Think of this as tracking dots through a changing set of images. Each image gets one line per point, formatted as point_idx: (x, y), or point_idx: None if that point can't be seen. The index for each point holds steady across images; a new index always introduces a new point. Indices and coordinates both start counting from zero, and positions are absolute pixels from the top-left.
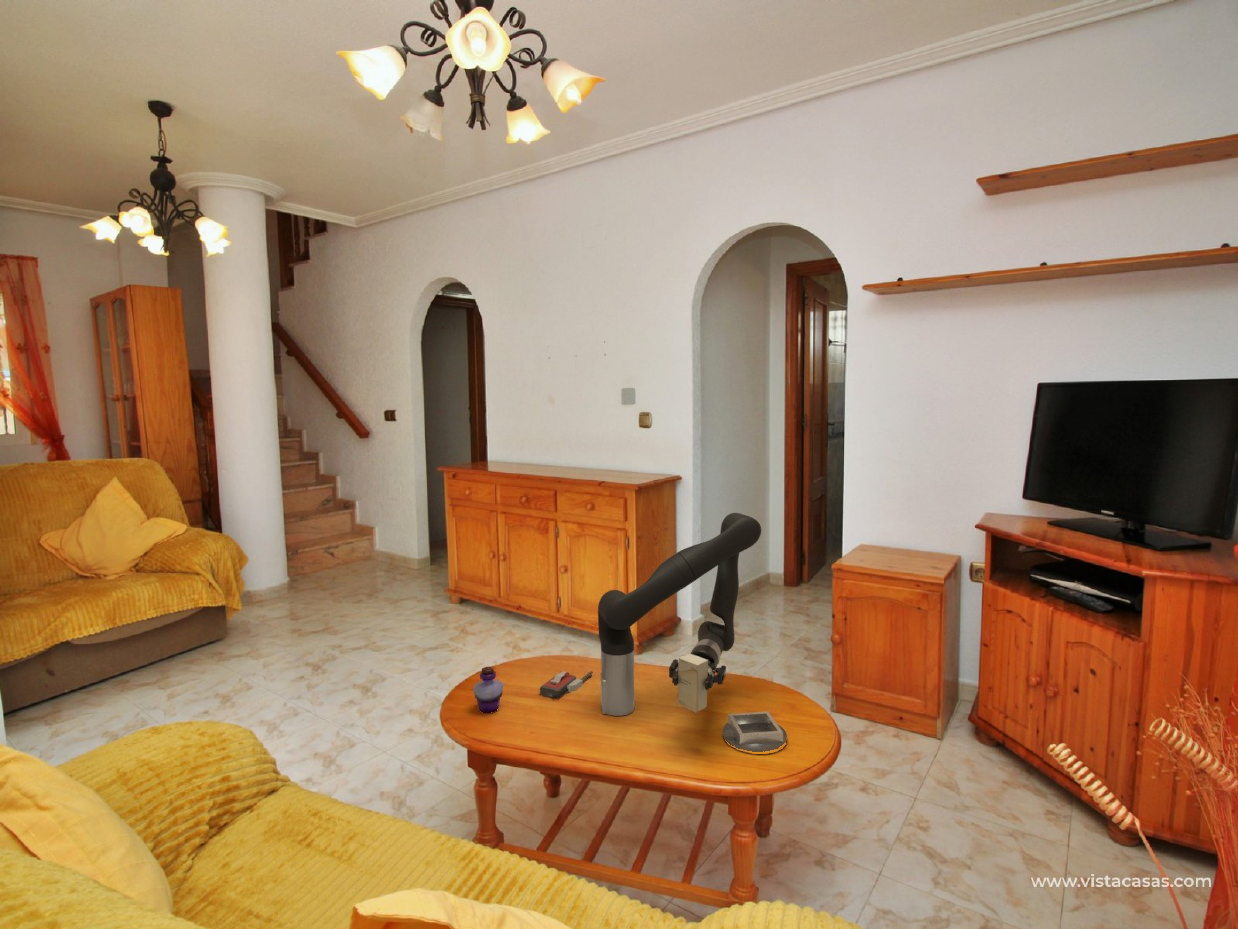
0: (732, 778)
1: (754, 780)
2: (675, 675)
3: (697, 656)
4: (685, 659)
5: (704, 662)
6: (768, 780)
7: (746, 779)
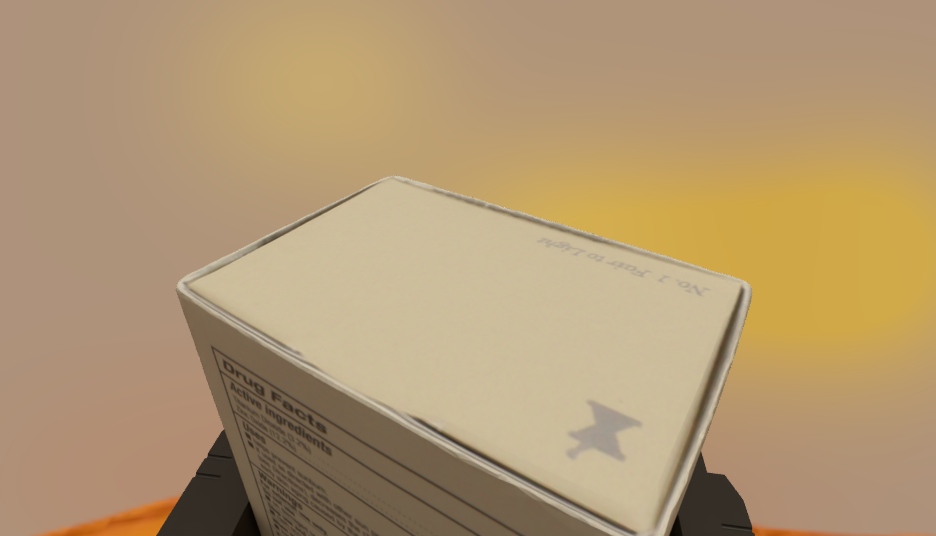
0: None
1: (160, 520)
2: (704, 483)
3: (378, 383)
4: (604, 257)
5: (270, 234)
6: (92, 529)
7: None
